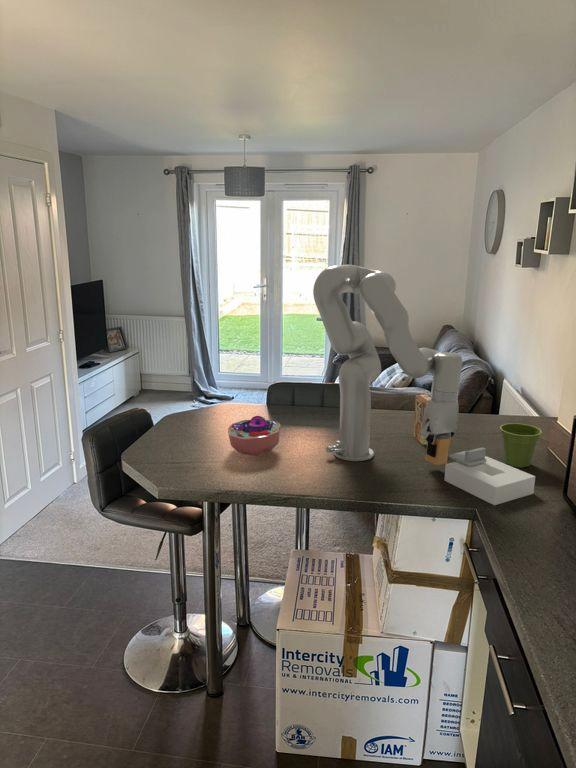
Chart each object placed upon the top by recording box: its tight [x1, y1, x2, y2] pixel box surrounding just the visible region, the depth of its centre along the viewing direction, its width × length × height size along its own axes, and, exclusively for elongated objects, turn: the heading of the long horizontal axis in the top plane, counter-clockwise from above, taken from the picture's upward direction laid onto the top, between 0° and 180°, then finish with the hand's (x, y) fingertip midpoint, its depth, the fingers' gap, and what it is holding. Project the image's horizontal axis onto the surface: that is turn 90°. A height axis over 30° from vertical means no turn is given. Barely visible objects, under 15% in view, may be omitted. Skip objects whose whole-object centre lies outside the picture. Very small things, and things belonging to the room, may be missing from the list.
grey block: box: [448, 447, 487, 466], centre depth 162 cm, size 7×8×4 cm
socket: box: [444, 455, 536, 506], centre depth 156 cm, size 15×18×5 cm
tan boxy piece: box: [424, 433, 451, 466], centre depth 167 cm, size 4×5×9 cm
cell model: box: [227, 415, 281, 457], centre depth 181 cm, size 17×20×11 cm
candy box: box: [413, 394, 431, 446], centre depth 192 cm, size 9×4×15 cm, turn 8°
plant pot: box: [499, 422, 543, 469], centre depth 172 cm, size 12×12×11 cm
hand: (436, 453), depth 167 cm, fingers closed on tan boxy piece, 4 cm apart
